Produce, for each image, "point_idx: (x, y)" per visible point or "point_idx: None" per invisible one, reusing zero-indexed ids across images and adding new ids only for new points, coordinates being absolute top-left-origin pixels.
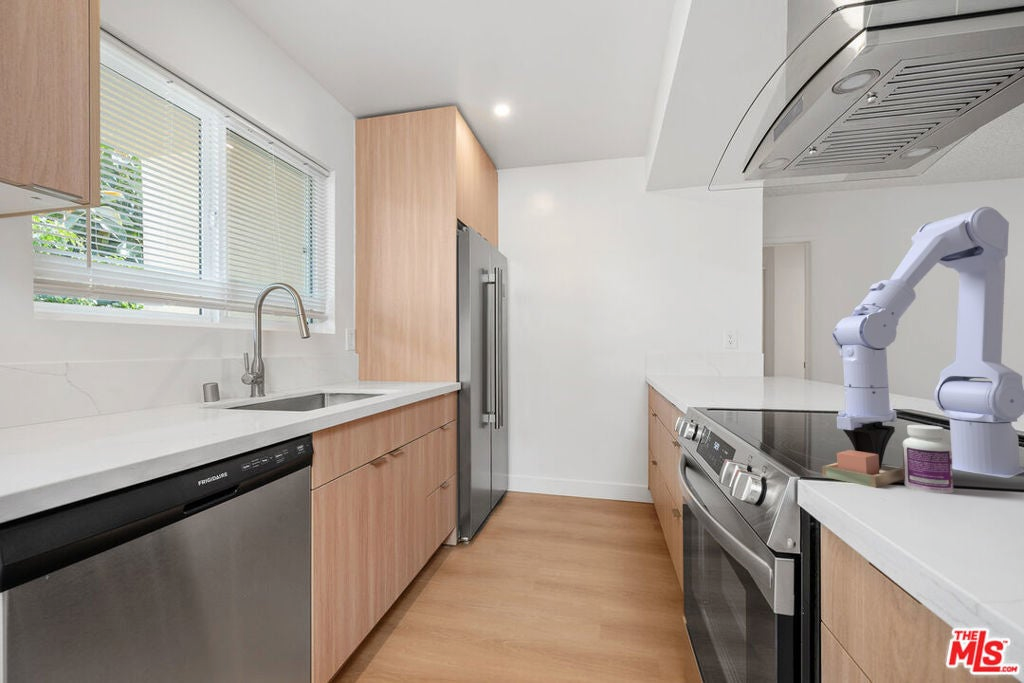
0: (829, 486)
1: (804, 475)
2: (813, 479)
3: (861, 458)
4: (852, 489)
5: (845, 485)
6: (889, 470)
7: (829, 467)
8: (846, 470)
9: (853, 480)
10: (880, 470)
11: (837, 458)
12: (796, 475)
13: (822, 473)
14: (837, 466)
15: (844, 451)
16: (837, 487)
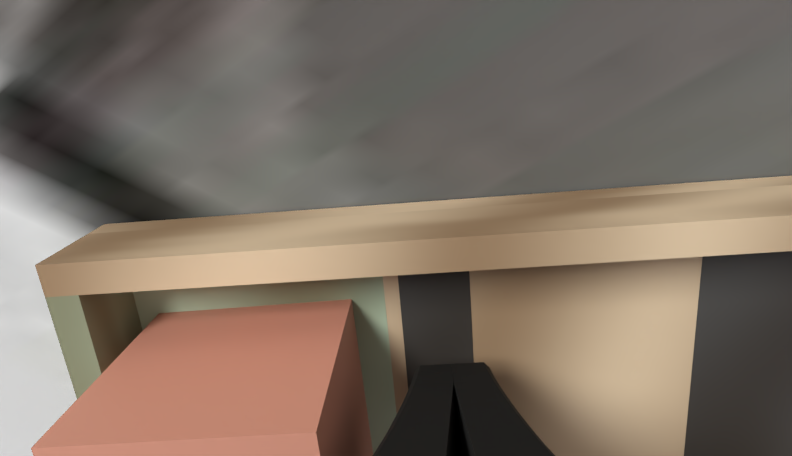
0: (14, 335)
1: (81, 70)
2: (52, 183)
3: None
4: None
5: None
6: (732, 372)
7: (67, 316)
8: None
9: None
10: (672, 344)
11: (69, 412)
12: (15, 37)
13: (75, 243)
14: (111, 363)
15: (183, 446)
16: (45, 369)
